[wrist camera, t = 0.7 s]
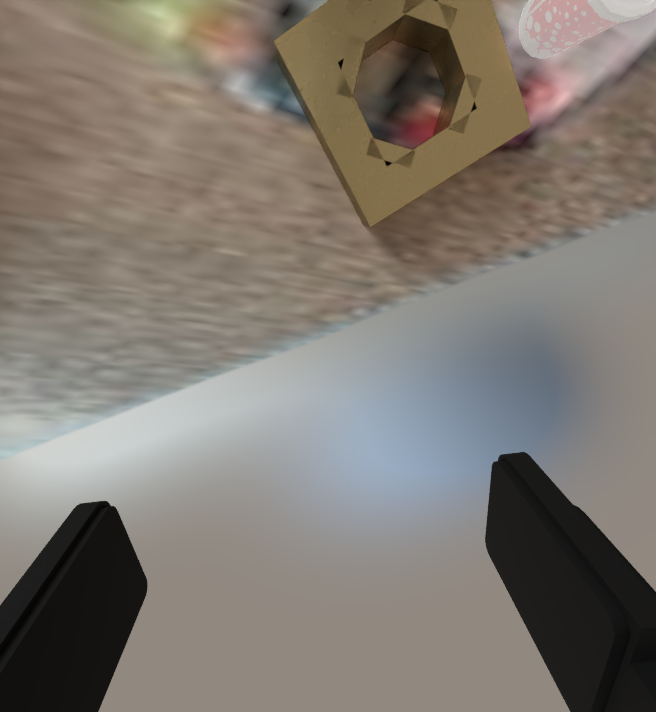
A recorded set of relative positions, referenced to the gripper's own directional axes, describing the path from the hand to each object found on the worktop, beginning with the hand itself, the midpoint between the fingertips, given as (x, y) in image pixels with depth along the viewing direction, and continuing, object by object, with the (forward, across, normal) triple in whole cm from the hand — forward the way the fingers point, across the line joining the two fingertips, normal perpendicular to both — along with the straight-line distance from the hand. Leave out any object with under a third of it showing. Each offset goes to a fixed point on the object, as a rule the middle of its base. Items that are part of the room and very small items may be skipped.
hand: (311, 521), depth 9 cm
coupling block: (+29, -9, -14) cm, 33 cm away
